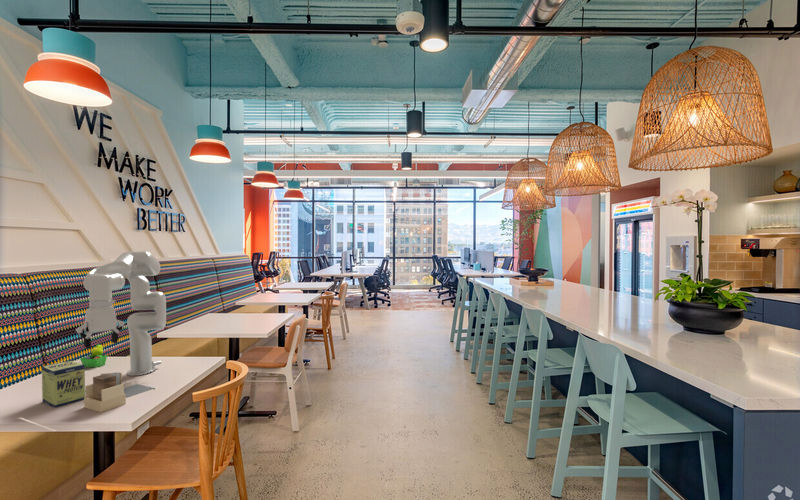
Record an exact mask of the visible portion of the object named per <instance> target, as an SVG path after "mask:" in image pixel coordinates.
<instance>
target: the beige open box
mask: <svg viewBox="0 0 800 500" xmlns="http://www.w3.org/2000/svg"><path fill="white" fill-rule="evenodd" d="M124 385H125V384H124V383H121V384H120V385H117V386H114V387H110V388H107V389H104V390H101V394H102V401H99V400H95V399H94V398H93V383H91V384H89V385H85V397H84V400H83V401H84V404H83V406H84V408H85V409H89V410H92V411H96V412H98V413H102V412H105V411H109V410H111V409H115V408H117V407H120V406H124V405H125V404H127V402H126V401H127V400H126V399H127V398H126V395H125V394H124V388H125V386H124Z"/></svg>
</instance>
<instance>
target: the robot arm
mask: <svg viewBox="0 0 800 500" xmlns="http://www.w3.org/2000/svg"><path fill="white" fill-rule="evenodd" d="M160 272H161V264H160V261H159V260H158V259H157V258H156V256H154V254H152V253H151V252H150V251H139V250H138V251H125V252H123V253H121V254H120V255H119V256H118V257H117V258H116V259H115V260H113V262H109V263H106V264H104V265H101V266H97V267H94V268H92V269H91V270H90V271H89V272H88V273H87V274H86V275H85V277H84V278H83V282H82V283H83V287H84V289H85V290H87V291H88V296H89V297H88V299H89V300H88V301H89V305H88V306H89V308H86V311H85V317H84V323H83V324H82V325H81V326H78V327H77V328H75V332H77V334H78V336H80V337H81V338H82V339H83V347H84V348H85V349H92V339H91V338H90V337H91V336H92V335H93V334H95V333H103V332H108V331H110V332H112V333H111V343H113V344H117V343H118V341H119V333H120V332H121V331H122V329H123V328H124V325H125V324H127V329H128V334H129V356H130V357H129V358H130V359H129V360H130V364H129V365H130V367H129V368H130V370H128V371H127V372H126V375H127V376H130V377H135V376H143V374H144V375H147V373H148V374H151V373H153V371H154V370H155V371H156V366H159V365H161V364H162V360H158V361H153V351H152V336H151V335H150V333H148V331H154V330H155V331H157V330H162V329H164V328H165V327H166V324H167V301H166V300H167V298H166V295H165V293H163V292H162V291H151V290H150V288H151V287H150V281H149V280H148V278H147V277H153V276H158V275H159V274H160ZM125 278H126V279H127V280H128V282H129V285H130V287H129V289H130V307H131V309H132V310H134V311H144V312H135V313H132V314H130V315H129V316H128V317H127V321H126V322H127V323H126V322H125V321H123V320H120V319H117V313H116V309H115V306H113V304H115V303H116V300H115V299H113V291H119V290H121V289H123V288H124V286H125V283H126V279H125ZM149 310H151V311H149ZM152 310H154V311H152ZM145 311H146V312H145ZM148 311H149V312H148ZM117 325H118V326H117ZM83 330H84V332H85V333H84V332H83ZM155 371H154V372H155ZM150 372H151V373H150Z"/></svg>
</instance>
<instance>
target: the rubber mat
mask: <svg viewBox="0 0 800 500" xmlns="http://www.w3.org/2000/svg"><path fill="white" fill-rule="evenodd" d="M152 390H156V389H155V387H151V386H147V385H143V384H139V383H136V384H132V385H129V386H126V387H125V386H124V394H125V395H126V399H127V398H130V397H133V396H135V395H138V394H141V393H142V394H143V393H145V392H148V391H152Z"/></svg>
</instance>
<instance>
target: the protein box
mask: <svg viewBox="0 0 800 500" xmlns="http://www.w3.org/2000/svg"><path fill="white" fill-rule="evenodd" d="M84 366H85V365H83V364H82V363H79V362H77V361H74V360H67V361H66V360H65V361H61V362H57V363H56V362H55V363H52V364H47V365H41V385H42V386H41V395H42V402H43V403H44V404H46V405H48V406H50V407H53V408H59V407H62V406H66V405H70V404H74V403H76V402H81V401H84V397H86V379H85V377H86V375H85V372H86V371H85V369H86V367H84Z"/></svg>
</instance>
